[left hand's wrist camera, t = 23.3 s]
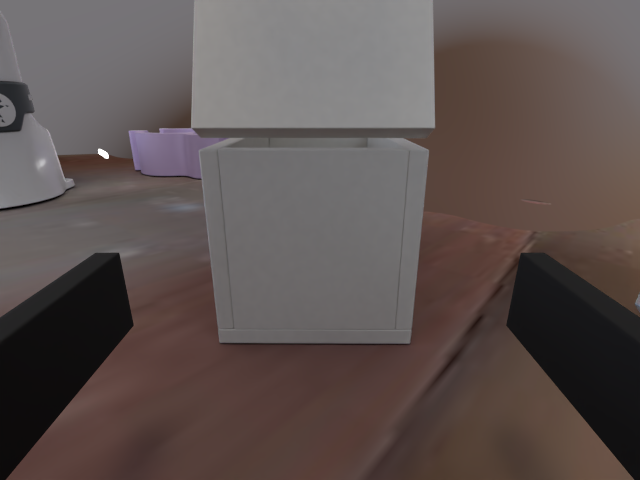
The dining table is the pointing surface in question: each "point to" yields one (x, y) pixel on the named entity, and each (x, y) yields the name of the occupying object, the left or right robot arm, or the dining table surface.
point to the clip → (169, 151)
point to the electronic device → (638, 303)
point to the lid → (313, 69)
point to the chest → (314, 238)
